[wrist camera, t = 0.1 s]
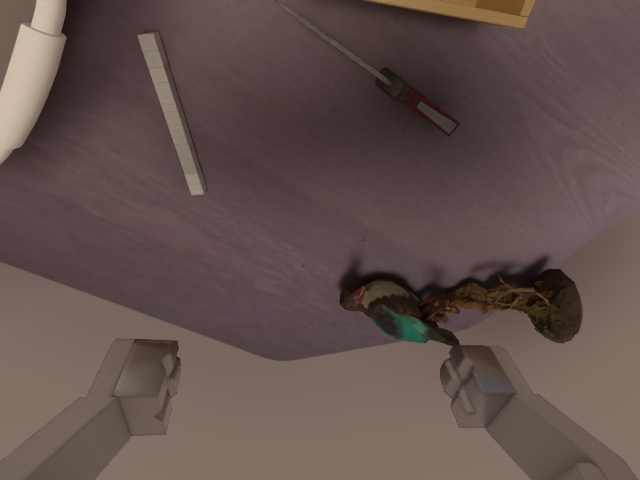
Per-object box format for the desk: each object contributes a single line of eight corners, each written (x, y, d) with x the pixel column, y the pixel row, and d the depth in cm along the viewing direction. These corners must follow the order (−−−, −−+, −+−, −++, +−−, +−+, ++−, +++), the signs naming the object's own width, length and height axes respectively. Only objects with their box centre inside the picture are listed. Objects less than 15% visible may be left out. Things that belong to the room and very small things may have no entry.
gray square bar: (191, 195, 31) (194, 189, 32) (204, 194, 31) (206, 188, 32) (136, 34, 24) (142, 33, 25) (153, 33, 24) (158, 31, 25)
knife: (266, 5, 24) (264, 8, 20) (276, -15, 24) (275, -16, 20) (439, 129, 31) (464, 150, 27) (450, 115, 30) (477, 135, 26)
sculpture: (626, 310, 31) (343, 308, 31) (543, 357, 42) (337, 356, 42) (586, 235, 35) (341, 233, 36) (521, 296, 47) (336, 295, 47)
